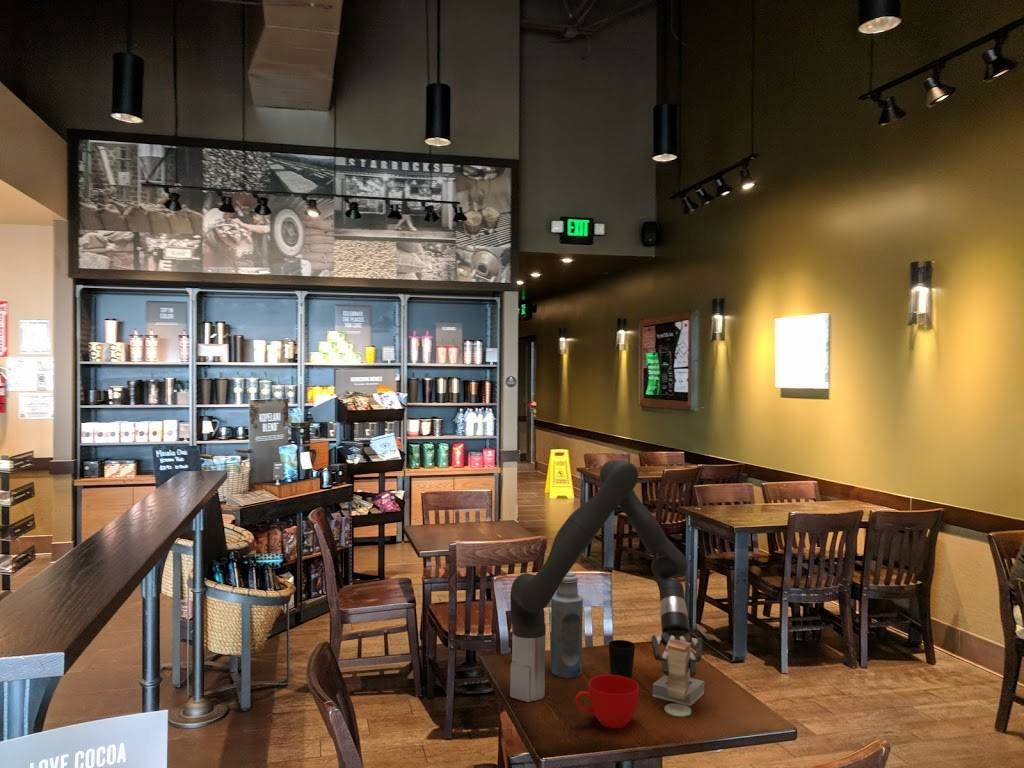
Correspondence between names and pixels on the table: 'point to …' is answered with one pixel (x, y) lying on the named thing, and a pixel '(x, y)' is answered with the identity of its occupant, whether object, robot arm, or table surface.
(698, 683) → the socket block
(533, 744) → the table surface
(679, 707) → the pad
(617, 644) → the cup
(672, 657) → the plug
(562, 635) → the bottle
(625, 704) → the ceramic cup
